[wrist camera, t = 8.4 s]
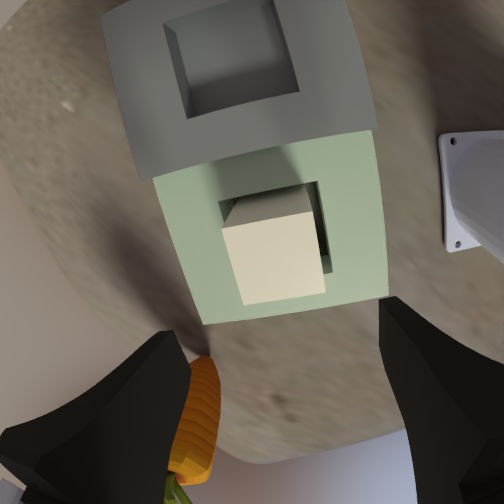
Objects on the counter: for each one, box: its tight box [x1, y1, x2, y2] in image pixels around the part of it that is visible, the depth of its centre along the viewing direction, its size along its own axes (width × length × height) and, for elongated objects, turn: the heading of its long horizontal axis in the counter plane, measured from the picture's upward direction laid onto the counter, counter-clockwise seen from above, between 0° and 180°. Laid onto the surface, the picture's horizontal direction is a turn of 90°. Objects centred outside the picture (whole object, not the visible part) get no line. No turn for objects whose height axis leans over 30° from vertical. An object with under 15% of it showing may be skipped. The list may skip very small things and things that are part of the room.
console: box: [100, 0, 388, 325], centre depth 16 cm, size 20×12×4 cm, turn 14°
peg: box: [221, 183, 326, 305], centre depth 17 cm, size 4×4×6 cm
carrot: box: [164, 355, 221, 504], centre depth 18 cm, size 5×5×15 cm
